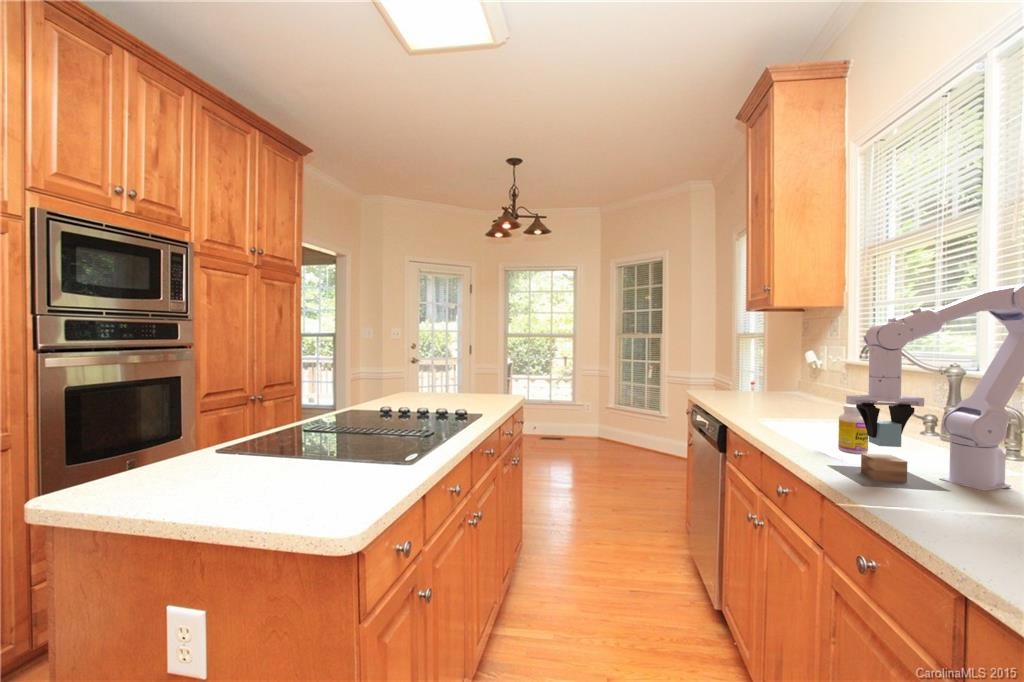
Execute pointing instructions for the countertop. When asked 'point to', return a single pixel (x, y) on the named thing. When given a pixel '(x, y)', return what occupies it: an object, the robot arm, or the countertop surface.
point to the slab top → (884, 462)
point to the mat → (865, 480)
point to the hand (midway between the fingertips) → (883, 437)
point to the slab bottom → (884, 474)
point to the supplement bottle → (852, 432)
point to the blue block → (887, 434)
